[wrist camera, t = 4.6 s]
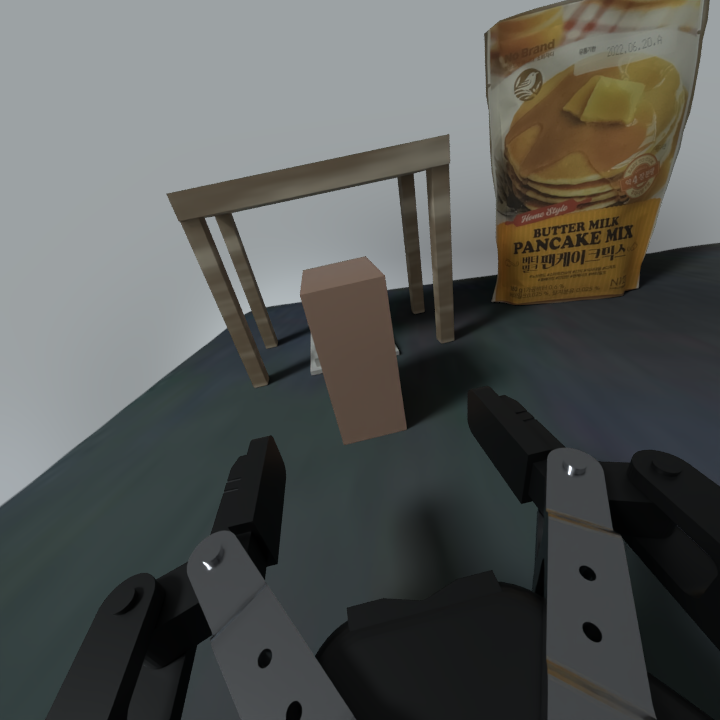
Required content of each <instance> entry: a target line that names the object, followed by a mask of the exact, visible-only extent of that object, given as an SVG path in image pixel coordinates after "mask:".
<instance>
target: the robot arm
mask: <svg viewBox="0 0 720 720" xmlns="http://www.w3.org/2000/svg"><path fill="white" fill-rule="evenodd" d="M468 424H469V428H470V430H471V432H472V434H473V436H474V437H475V438H476V440H477V441H478V443H479V444H480V446H481V447H482V448H483V450H484V451H485V453H486V454H487V456H488V457H489V458H490V460H491V461H492V463H493V464H494V466H495V467H496V468H497V470H498V471H499V473H500V474H501V476H502V477H503V478H504V480H505V481H506V483H507V484H508V486H509V487H510V488H511V490H512V491H513V493H514V494H515V496H516V497H517V498H518V500H519V501H520V503H521V504H523V503H527V502H531V501H533V502H534V503H535V505H536V506H537V507H538V511H537V525H536V545H535V565H534V575H533V583H532V591H530V590H528V589H526V588H523V587H520V586H517V585H514V584H510V583H505V582H498V581H497V579H496V577H495V575H494V573H493V571H492V570H490V571H487V572H483V573H479V574H475V575H471V576H467V577H463V578H460V579H456V580H455V581H453V582H452V583H450V584H449V585H447V586H446V587H444V588H443V589H441V590H439V591H438V592H436V593H435V594H433V595H432V596H430V597H429V598H427V599H425V600H420V601H419V600H402V599H385V598H383V599H379V600H375V601H371V602H367V603H363V604H360V605H356V606H352V607H348V608H347V614H348V621H346V622H345V623H343V624H342V625H341V626H340V627H338V628H337V629H336V630H335V631H334V632H333V633H332V634H331V635H330V636H329V637H328V638H327V639H326V641H325V642H324V643H323V645H322V646H321V647H320V649H319V650H318V652H317V654H316V655H315V656H314V655H313V653H312V652H311V650H310V648H309V647H308V645H307V644H306V642H305V641H304V639H303V638H302V636H301V635H300V633H299V632H298V630H297V629H296V627H295V626H294V624H293V623H292V621H291V620H290V618H289V617H288V615H287V613H286V612H285V610H284V609H283V607H282V606H281V604H280V603H279V601H278V600H277V598H276V597H275V595H274V594H273V592H272V591H271V589H270V588H269V586H268V585H267V583H266V582H265V574H266V567H267V566H271V565H275V564H278V554H279V544H280V534H281V524H282V514H283V504H284V493H285V483H286V470H285V465H284V462H283V459H282V457H281V455H280V452H279V450H278V448H277V445H276V443H275V441H274V438H273V437H272V436H267V437H262V438H258V439H254V440H251V442H250V445H249V449H248V453H247V455H244V456H240V457H239V458H238V460H237V461H236V462H235V464H234V465H233V466H232V468H231V470H230V474H229V477H228V480H227V481H228V483H226V486H225V490H224V493H223V496H222V499H221V503H220V506H219V509H218V512H217V515H216V519H215V522H214V525H213V528H212V531H211V534H210V536H208V537H207V538H205V539H204V540H203V541H202V542H201V543H200V544H199V545H198V546H197V547H196V548H195V550H194V551H193V553H192V554H191V556H190V558H189V561H188V562H186V563H185V564H183V565H181V566H180V567H178V568H176V569H174V570H172V571H171V572H169V573H167V574H165V575H163V576H162V577H160V578H158V579H155V578H154V577H153V576H152V575H150V574H148V573H140V574H137V575H134V576H132V577H130V578H128V579H127V580H125V581H124V582H122V583H121V584H120V585H118V586H117V587H116V588H115V589H114V590H113V591H112V592H111V593H110V594H109V595H108V597H107V598H106V599H105V600H104V602H103V603H102V605H101V607H100V608H99V610H98V612H97V614H96V616H95V618H94V620H93V622H92V624H91V627H90V629H89V631H88V633H87V635H86V637H85V639H84V641H83V643H82V645H81V647H80V649H79V651H78V653H77V655H76V657H75V659H74V662H73V664H72V666H71V668H70V670H69V672H68V674H67V676H66V678H65V680H64V682H63V684H62V686H61V688H60V690H59V692H58V694H57V697H56V699H55V701H54V703H53V705H52V707H51V709H50V711H49V713H48V715H47V717H46V719H45V720H181V716H182V712H183V707H184V703H185V698H186V693H187V689H188V684H189V680H190V675H191V671H192V666H193V662H194V657H195V652H196V648H197V645H198V644H199V643H201V642H202V641H204V640H205V639H207V638H208V637H210V636H211V635H213V636H212V637H211V639H210V641H211V646H212V649H213V652H214V654H215V657H216V659H217V662H218V664H219V666H220V669H221V671H222V674H223V676H224V679H225V681H226V684H227V686H228V689H229V691H230V693H231V696H232V698H233V701H234V703H235V706H236V708H237V711H238V713H239V716H240V718H241V720H714V719H713V718H711V717H710V716H709V715H707V714H706V713H704V712H703V711H702V710H700V709H699V708H697V707H696V706H695V705H693V704H692V703H690V702H689V701H688V700H686V699H685V698H683V697H682V696H681V695H679V694H678V693H676V692H675V691H674V690H672V689H671V688H669V687H668V686H667V685H665V684H664V683H662V682H661V681H660V680H658V679H657V678H655V677H654V676H653V675H651V674H650V673H648V672H647V671H646V666H645V660H644V654H643V649H642V643H641V638H640V632H639V626H638V621H637V615H636V610H635V604H634V599H633V593H632V587H631V582H630V576H629V571H628V565H627V559H626V554H625V548H624V543H623V540H622V538H623V539H624V540H625V541H626V543H627V544H628V545H629V546H630V547H631V548H632V550H633V551H634V552H635V553H636V554H637V555H638V557H639V558H640V559H641V560H642V561H643V562H644V564H645V565H646V566H647V567H648V568H649V569H650V570H651V572H652V573H653V574H654V575H655V576H656V577H657V579H658V580H659V581H660V582H661V583H662V584H663V586H664V587H665V588H666V589H667V590H668V591H669V593H670V594H671V595H672V596H673V597H674V598H675V599H676V601H677V602H678V603H679V604H680V605H681V606H682V608H683V609H684V610H685V611H686V612H687V613H688V615H689V616H690V617H691V618H692V619H693V620H694V622H695V623H696V624H697V625H698V626H699V627H700V628H701V630H702V631H703V632H704V633H705V634H706V635H707V637H708V638H709V639H710V640H711V641H712V642H713V644H714V645H715V646H716V647H717V648H718V649H719V651H720V486H718V485H717V484H716V483H714V482H713V481H712V480H710V479H709V478H707V477H706V476H705V475H703V474H702V473H701V472H699V471H698V470H697V469H695V468H694V467H692V466H691V465H690V464H688V463H687V462H685V461H684V460H682V459H680V458H678V457H676V456H674V455H671V454H668V453H665V452H661V451H656V450H642V451H638V452H636V453H635V454H634V455H633V457H632V459H631V461H630V463H624V462H600V461H597V460H596V459H594V458H593V457H592V456H590V455H588V454H587V453H585V452H582V451H580V450H576V449H572V448H566V447H565V446H564V445H563V444H561V443H560V442H559V441H558V440H557V439H556V438H555V437H554V436H553V435H552V434H551V433H550V432H549V431H548V430H547V429H546V428H545V427H544V426H543V425H542V424H541V423H540V422H538V421H537V420H535V419H534V417H533V416H532V415H531V414H530V413H529V412H527V410H526V409H525V408H524V407H523V406H522V405H521V404H520V403H519V402H518V401H516V400H514V399H512V398H510V397H508V396H506V395H502V396H498V395H497V394H496V393H495V392H494V390H493V389H492V388H490V387H489V386H484V387H480V388H475V389H471V390H469V391H468ZM677 525H678V526H679V527H680V528H681V529H682V530H683V531H684V532H685V533H686V534H688V535H689V536H690V537H691V538H692V539H693V540H694V541H695V542H696V543H697V544H698V545H699V546H700V547H701V548H702V549H703V550H705V551H706V552H707V553H708V555H707V554H706V553H705V552H704V551H703V550H702V549H701V548H700V547H699V546H698V545H697V544H696V543H695V542H694V541H693V540H692V539H690V538H689V537H688V536H687V535H686V534H685V533H684V532H683V531H682V530H681V529H680V528H679V527H678V526H677Z"/></svg>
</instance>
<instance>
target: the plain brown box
mask: <svg viewBox="0 0 720 720" xmlns="http://www.w3.org/2000/svg"><path fill="white" fill-rule="evenodd" d="M300 297H301V300H302V304H303V307H304V311H305V314H306V318H307V321H308V324H309V328H310V331H311V334H312V338H313V341H314V345H315V348H316V351H317V355H318V358H319V362H320V365H321V368H322V372H323V375H324V379H325V382H326V385H327V389H328V392H329V396H330V399H331V402H332V406H333V409H334V413H335V416H336V419H337V423H338V426H339V429H340V433H341V436H342V440H343V443H344V445H346V444H350V443H354V442H359V441H363V440H367V439H371V438H375V437H379V436H383V435H387V434H391V433H395V432H399V431H403V430H407V426H406V419H405V412H404V405H403V398H402V391H401V384H400V378H399V371H398V364H397V357H396V350H395V343H394V336H393V329H392V322H391V315H390V308H389V301H388V294H387V287H386V280H385V275H383V273H382V272H381V271H380V270H379V269H378V268H377V267H376V266H375V265H374V264H373V263H372V262H371V261H370V260H369V259H368V258H367V257H366V256H365V257H361V258H356V259H351V260H347V261H342V262H338V263H334V264H329V265H325V266H320V267H316V268H311V269H307V270H303V275H302V283H301V290H300Z"/></svg>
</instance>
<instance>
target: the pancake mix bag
mask: <svg viewBox="0 0 720 720" xmlns="http://www.w3.org/2000/svg"><path fill="white" fill-rule="evenodd" d="M709 1H710V0H566V1H562V2H558V3H554V4H551V5H547V6H543V7H540V8H536V9H533V10H530V11H526V12H524V13H520V14H517V15H515V16H512V17H509V18H506V19H503V20H500V21H499V22H498V23H496V24H495V25H494V26H493V27H492V28H490V30H488V31H487V32H486V33H485V34H484V36H485V69H486V97H487V103H488V109H489V128H490V153H491V166H492V175H493V182H494V189H495V196H496V243H497V248H498V276H497V283H496V287H495V290H494V294H493V298H492V301H491V302H505V303H509V304H512V305H530V304H543V303H557V302H568V301H576V300H590V299H602V298H611V297H618V296H623V295H624V292H625V291H628V290H632V289H636V288H639V277H640V266H641V263H642V261H643V259H644V256H645V254H646V251H647V248H648V245H649V242H650V239H651V236H652V234H653V231H654V228H655V225H656V221H657V217H658V213H659V210H660V207H661V203H662V200H663V197H664V194H665V191H666V189H667V186H668V183H669V180H670V177H671V174H672V170H673V167H674V164H675V161H676V158H677V155H678V153H679V150H680V145H681V141H682V135H683V131H684V128H685V125H686V122H687V120H688V117H689V114H690V110H691V105H692V101H693V96H694V90H695V85H696V79H697V74H698V68H699V63H700V57H701V49H702V40H703V36H704V31H705V28H706V24H707V20H708V11H709Z"/></svg>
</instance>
